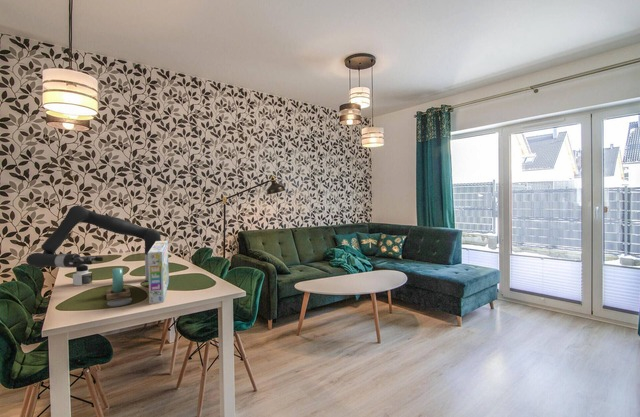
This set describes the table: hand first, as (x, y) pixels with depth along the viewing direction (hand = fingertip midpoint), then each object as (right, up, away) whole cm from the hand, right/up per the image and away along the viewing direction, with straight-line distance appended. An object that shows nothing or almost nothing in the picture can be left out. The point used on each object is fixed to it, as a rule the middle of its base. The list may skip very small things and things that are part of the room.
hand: (97, 260), depth 177 cm
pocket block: (+11, -20, +1) cm, 23 cm away
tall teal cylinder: (+11, -20, +1) cm, 23 cm away
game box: (+32, -20, +7) cm, 38 cm away
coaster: (+20, -20, -11) cm, 30 cm away
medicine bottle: (-26, -19, +24) cm, 40 cm away
